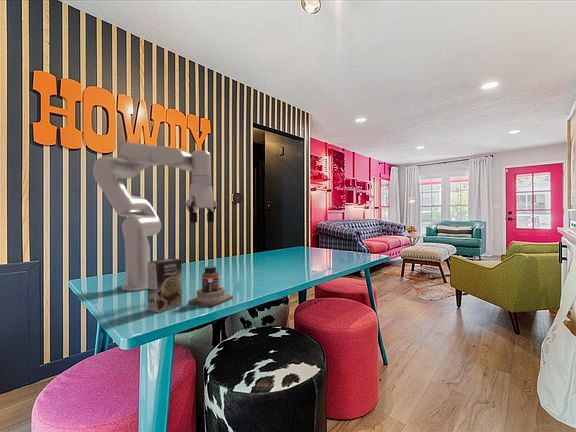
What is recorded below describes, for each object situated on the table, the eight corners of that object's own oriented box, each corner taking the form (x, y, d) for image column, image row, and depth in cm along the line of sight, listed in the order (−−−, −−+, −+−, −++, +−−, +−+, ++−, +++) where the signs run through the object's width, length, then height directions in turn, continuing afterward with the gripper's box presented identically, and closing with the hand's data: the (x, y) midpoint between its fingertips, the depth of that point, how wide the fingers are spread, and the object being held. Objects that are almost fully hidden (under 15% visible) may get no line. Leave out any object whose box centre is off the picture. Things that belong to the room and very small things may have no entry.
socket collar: (188, 303, 99) (188, 292, 99) (210, 295, 109) (209, 284, 109) (212, 307, 94) (212, 295, 94) (232, 298, 104) (232, 287, 104)
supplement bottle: (214, 300, 98) (214, 268, 98) (199, 300, 99) (198, 268, 99) (222, 295, 104) (221, 265, 104) (207, 295, 105) (206, 265, 105)
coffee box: (158, 313, 89) (157, 262, 89) (147, 310, 92) (146, 261, 92) (183, 305, 97) (182, 258, 97) (171, 302, 100) (170, 257, 100)
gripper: (209, 183, 125) (209, 221, 125) (178, 179, 110) (179, 222, 110) (222, 182, 122) (223, 221, 122) (192, 178, 106) (193, 222, 106)
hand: (202, 222), depth 116 cm, fingers open, 9 cm apart
